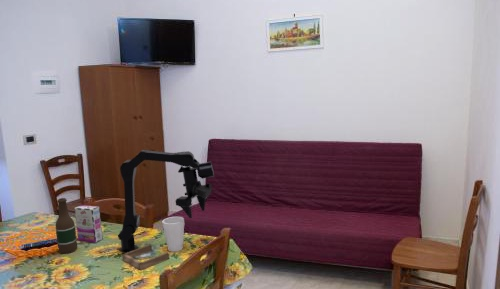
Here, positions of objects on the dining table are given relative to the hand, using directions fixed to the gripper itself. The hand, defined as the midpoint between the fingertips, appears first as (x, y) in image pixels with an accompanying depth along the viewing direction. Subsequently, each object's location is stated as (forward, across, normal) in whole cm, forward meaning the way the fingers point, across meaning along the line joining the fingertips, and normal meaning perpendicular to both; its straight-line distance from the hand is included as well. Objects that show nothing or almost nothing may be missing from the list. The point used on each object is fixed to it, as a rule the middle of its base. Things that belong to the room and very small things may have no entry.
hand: (197, 214), depth 174 cm
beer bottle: (+8, -31, +51) cm, 60 cm away
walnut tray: (+12, -22, +12) cm, 28 cm away
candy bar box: (+9, -18, +52) cm, 56 cm away
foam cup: (+13, -9, +8) cm, 18 cm away
